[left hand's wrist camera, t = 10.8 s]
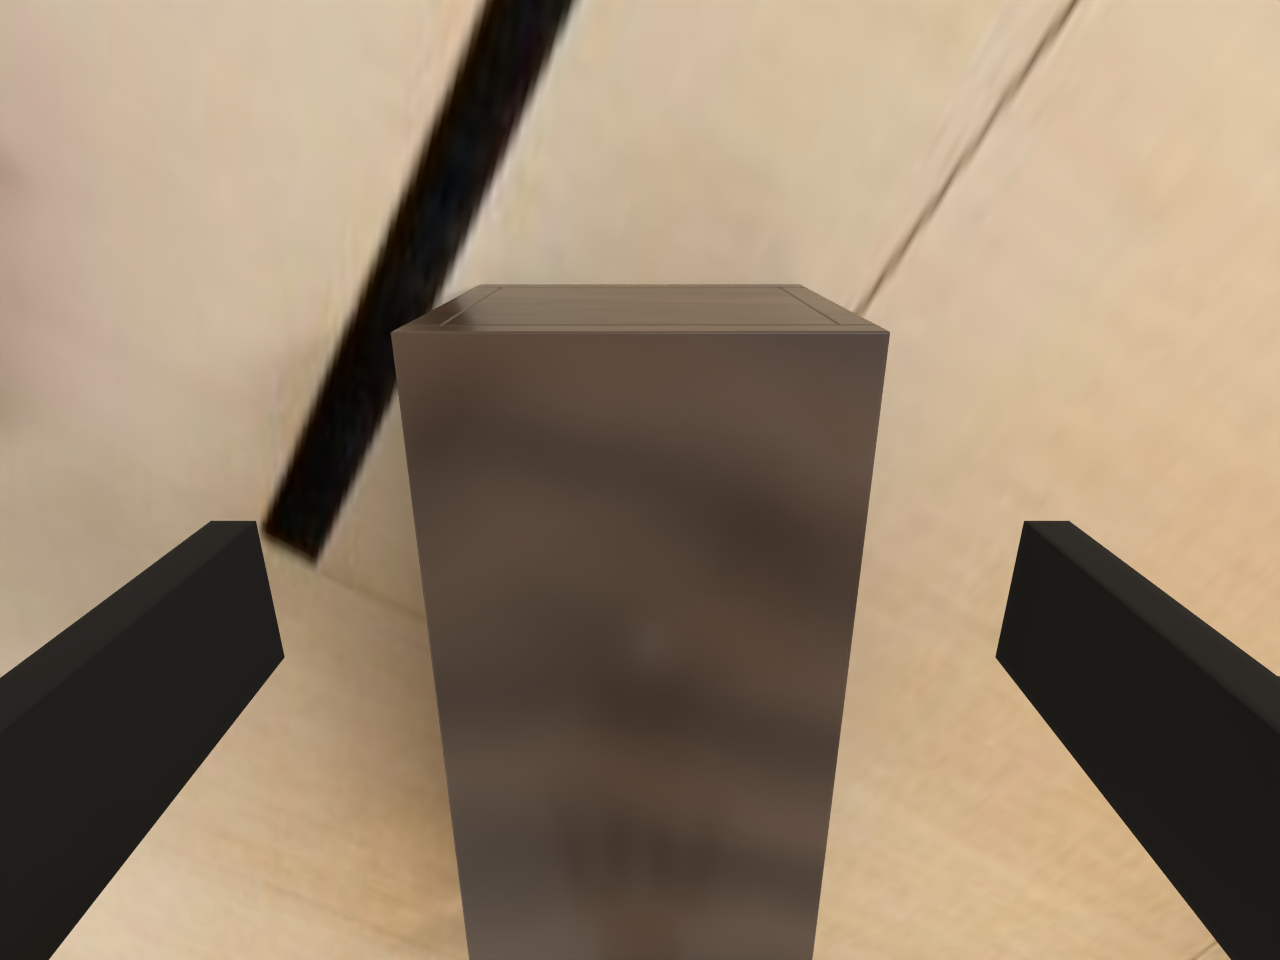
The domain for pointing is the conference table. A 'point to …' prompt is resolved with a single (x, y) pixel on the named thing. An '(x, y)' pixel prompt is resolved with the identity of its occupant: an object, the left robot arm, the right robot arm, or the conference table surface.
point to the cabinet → (640, 605)
